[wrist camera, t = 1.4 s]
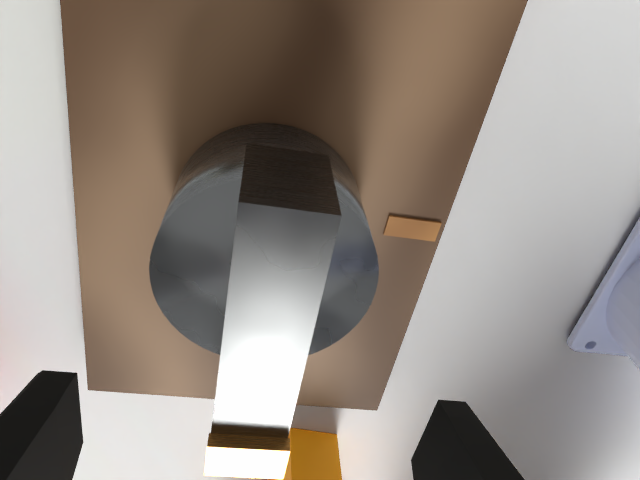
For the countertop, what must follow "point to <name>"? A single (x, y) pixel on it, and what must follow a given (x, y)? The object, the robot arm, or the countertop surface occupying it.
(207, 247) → the twist cap
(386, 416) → the countertop surface
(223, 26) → the base plate
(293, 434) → the pipe clamp
